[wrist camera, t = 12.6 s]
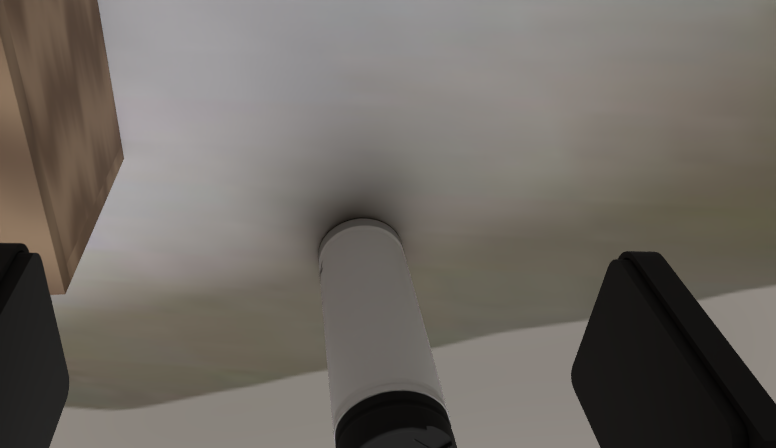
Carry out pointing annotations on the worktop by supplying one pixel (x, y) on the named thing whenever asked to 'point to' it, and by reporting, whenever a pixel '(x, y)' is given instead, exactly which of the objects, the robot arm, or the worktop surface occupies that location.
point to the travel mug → (377, 344)
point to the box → (55, 130)
